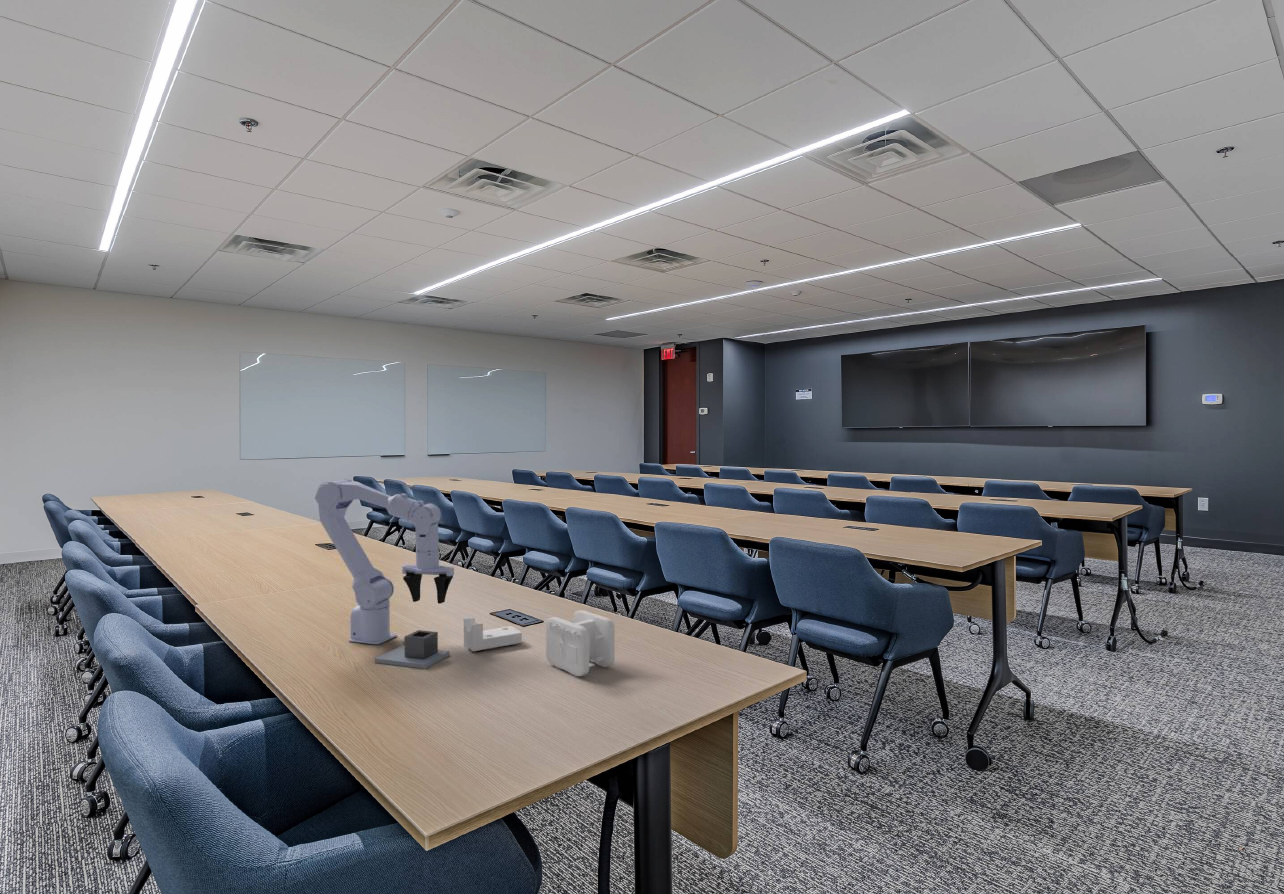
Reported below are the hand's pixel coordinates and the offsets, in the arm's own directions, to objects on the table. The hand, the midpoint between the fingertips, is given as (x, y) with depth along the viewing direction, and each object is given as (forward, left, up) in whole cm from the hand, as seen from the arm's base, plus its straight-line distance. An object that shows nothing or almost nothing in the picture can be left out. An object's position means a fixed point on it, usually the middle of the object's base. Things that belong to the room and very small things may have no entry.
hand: (428, 601), depth 178 cm
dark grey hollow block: (+7, -13, -9) cm, 17 cm away
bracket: (+18, +2, -11) cm, 21 cm away
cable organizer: (+46, -6, -11) cm, 47 cm away
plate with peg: (+5, -13, -10) cm, 17 cm away
